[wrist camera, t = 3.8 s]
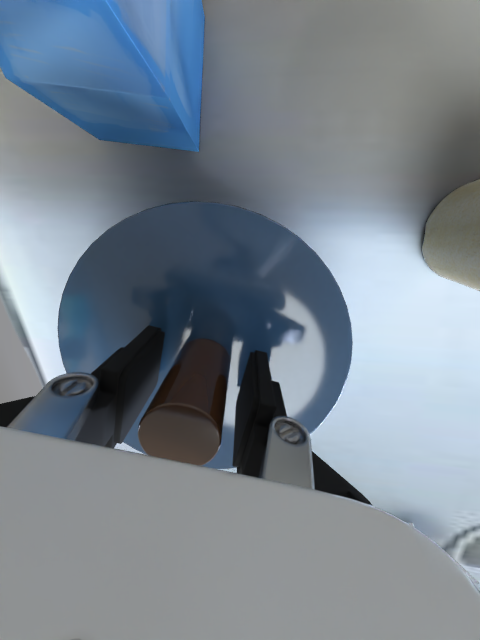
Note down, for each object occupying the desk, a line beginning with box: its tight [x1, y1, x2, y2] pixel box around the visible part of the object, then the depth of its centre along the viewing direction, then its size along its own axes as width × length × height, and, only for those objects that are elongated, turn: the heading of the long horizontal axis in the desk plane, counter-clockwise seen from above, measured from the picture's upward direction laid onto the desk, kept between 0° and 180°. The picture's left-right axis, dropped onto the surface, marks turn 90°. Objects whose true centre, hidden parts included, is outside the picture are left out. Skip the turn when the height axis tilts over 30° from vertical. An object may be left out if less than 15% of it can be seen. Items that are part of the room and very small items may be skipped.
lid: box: [58, 201, 352, 469], centre depth 10 cm, size 14×14×6 cm
